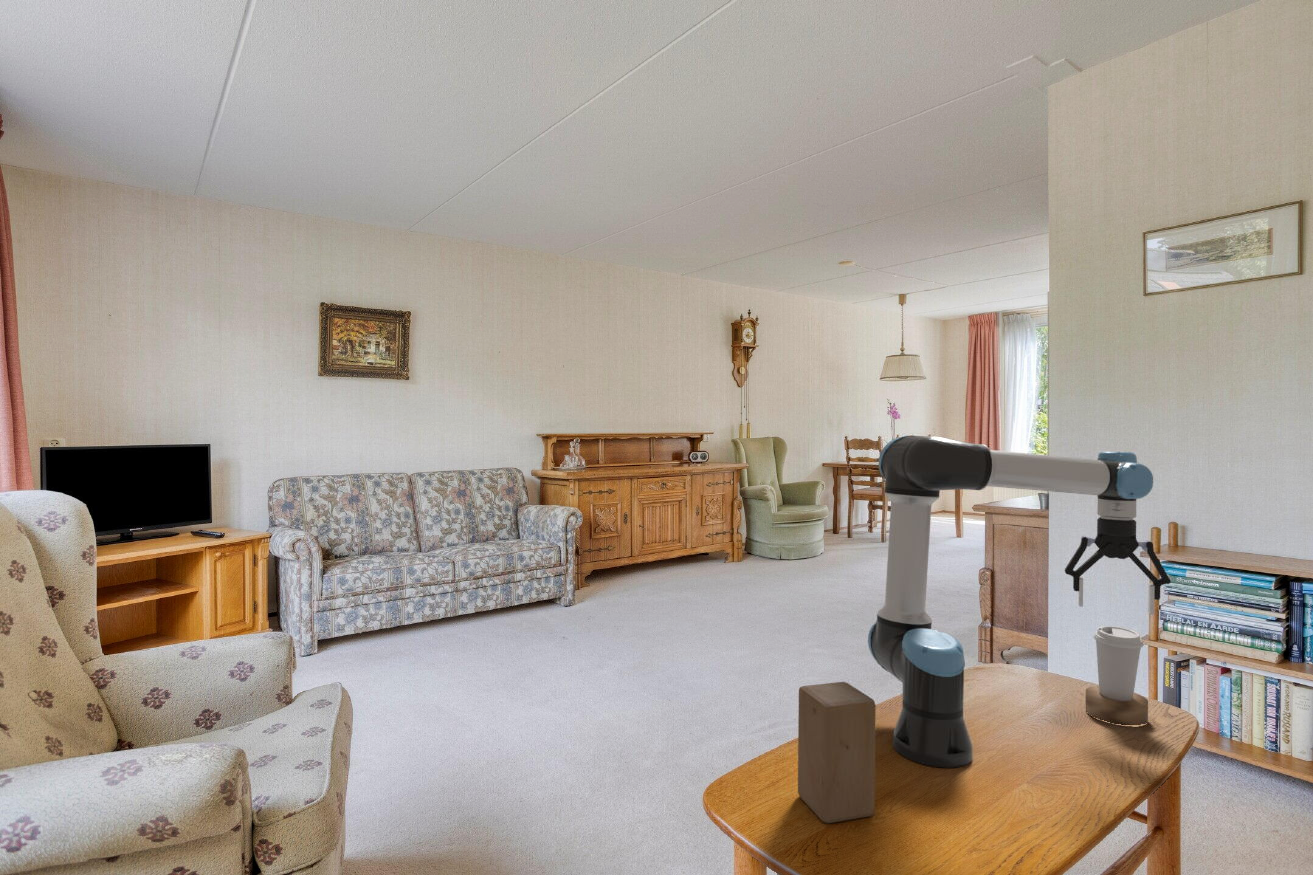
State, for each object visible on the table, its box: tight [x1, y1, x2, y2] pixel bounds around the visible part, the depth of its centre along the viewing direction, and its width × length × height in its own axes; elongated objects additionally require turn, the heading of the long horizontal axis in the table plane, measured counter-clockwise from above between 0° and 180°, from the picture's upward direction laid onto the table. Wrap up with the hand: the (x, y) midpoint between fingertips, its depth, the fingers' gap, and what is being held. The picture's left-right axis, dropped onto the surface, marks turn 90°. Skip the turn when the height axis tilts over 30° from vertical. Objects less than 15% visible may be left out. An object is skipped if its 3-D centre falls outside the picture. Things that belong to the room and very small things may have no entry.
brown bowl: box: [1085, 685, 1149, 725], centre depth 158 cm, size 12×12×5 cm
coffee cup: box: [1093, 625, 1144, 701], centre depth 157 cm, size 10×10×15 cm
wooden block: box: [797, 681, 876, 824], centre depth 118 cm, size 10×10×20 cm
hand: (1115, 609), depth 158 cm, fingers open, 13 cm apart
